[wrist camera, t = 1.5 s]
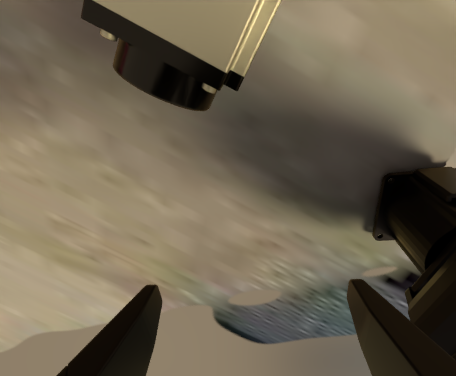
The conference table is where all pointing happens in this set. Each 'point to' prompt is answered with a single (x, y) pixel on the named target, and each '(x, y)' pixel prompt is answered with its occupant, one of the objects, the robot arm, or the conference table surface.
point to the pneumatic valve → (183, 44)
